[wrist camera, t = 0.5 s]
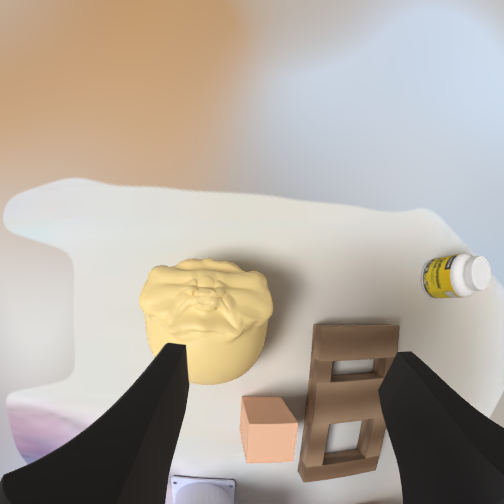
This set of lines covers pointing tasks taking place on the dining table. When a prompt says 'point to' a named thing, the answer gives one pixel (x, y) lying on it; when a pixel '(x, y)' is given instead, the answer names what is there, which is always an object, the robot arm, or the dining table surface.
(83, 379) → the dining table surface
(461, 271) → the supplement bottle
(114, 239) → the dining table surface
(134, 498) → the robot arm
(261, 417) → the square peg
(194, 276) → the sculpture
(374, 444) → the socket board
